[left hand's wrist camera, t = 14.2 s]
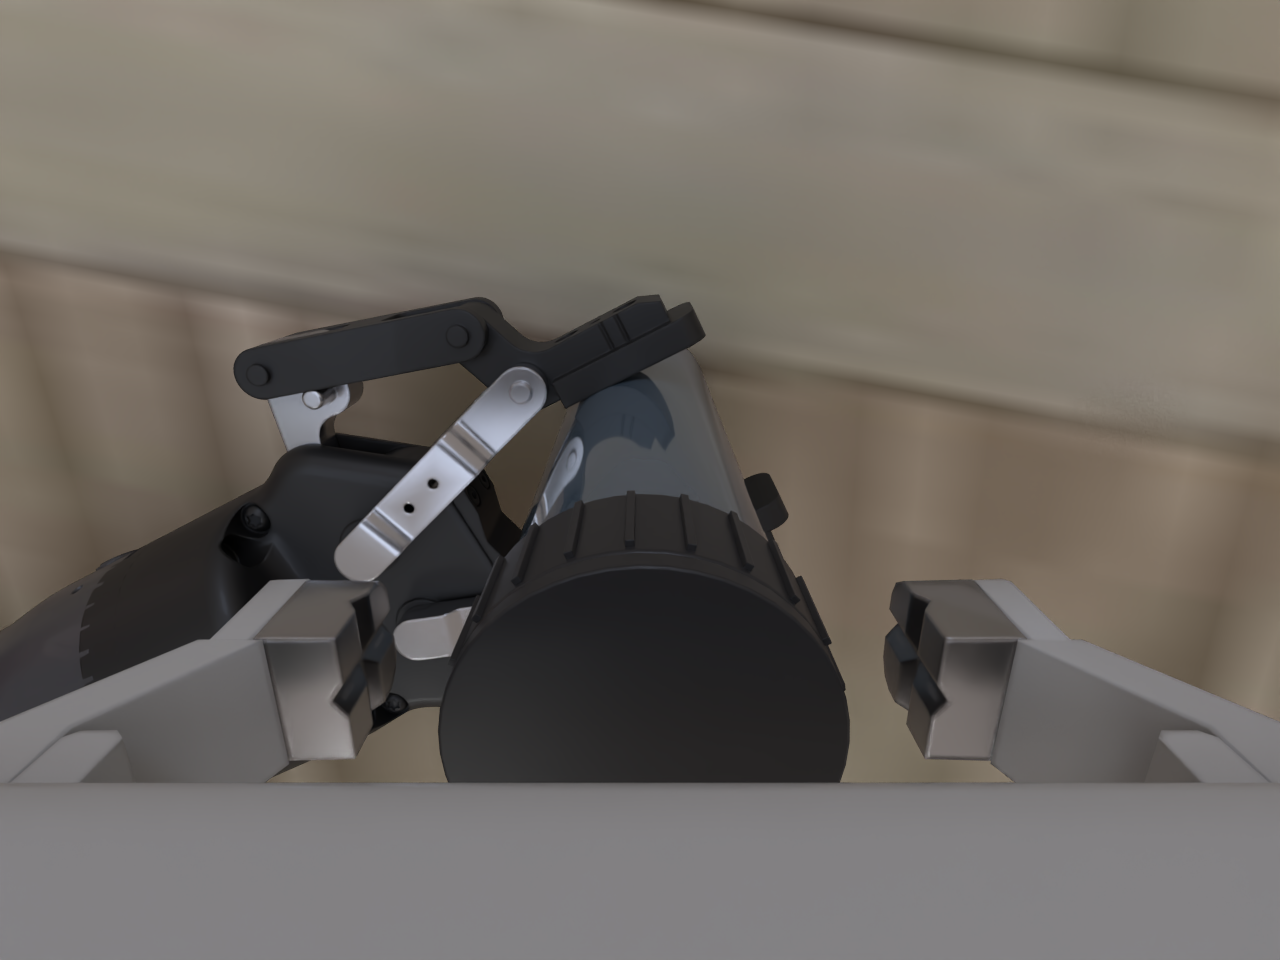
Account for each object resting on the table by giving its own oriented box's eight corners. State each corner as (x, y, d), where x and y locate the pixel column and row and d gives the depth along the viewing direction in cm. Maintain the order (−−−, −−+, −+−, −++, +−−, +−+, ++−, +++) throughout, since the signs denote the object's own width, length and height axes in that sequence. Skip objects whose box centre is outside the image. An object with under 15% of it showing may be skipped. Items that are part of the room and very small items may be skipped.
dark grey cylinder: (711, 333, 24) (850, 567, 8) (700, 458, 25) (797, 859, 10) (579, 326, 24) (457, 548, 8) (575, 452, 25) (469, 844, 10)
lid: (531, 436, 9) (500, 496, 7) (875, 557, 10) (935, 645, 8) (432, 726, 11) (385, 841, 9) (733, 815, 11) (753, 943, 9)
